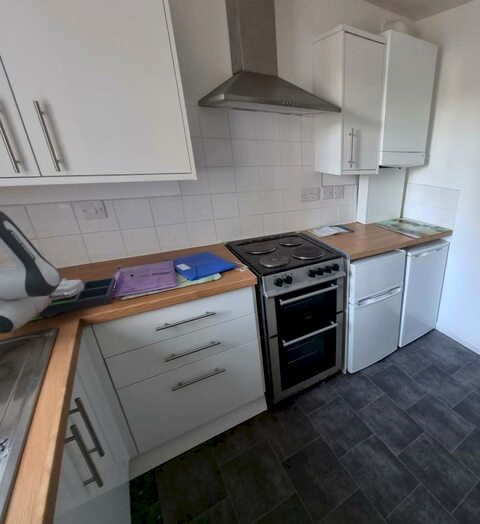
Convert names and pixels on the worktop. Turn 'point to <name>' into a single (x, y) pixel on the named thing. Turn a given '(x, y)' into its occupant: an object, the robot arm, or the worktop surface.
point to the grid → (84, 297)
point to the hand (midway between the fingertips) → (56, 281)
